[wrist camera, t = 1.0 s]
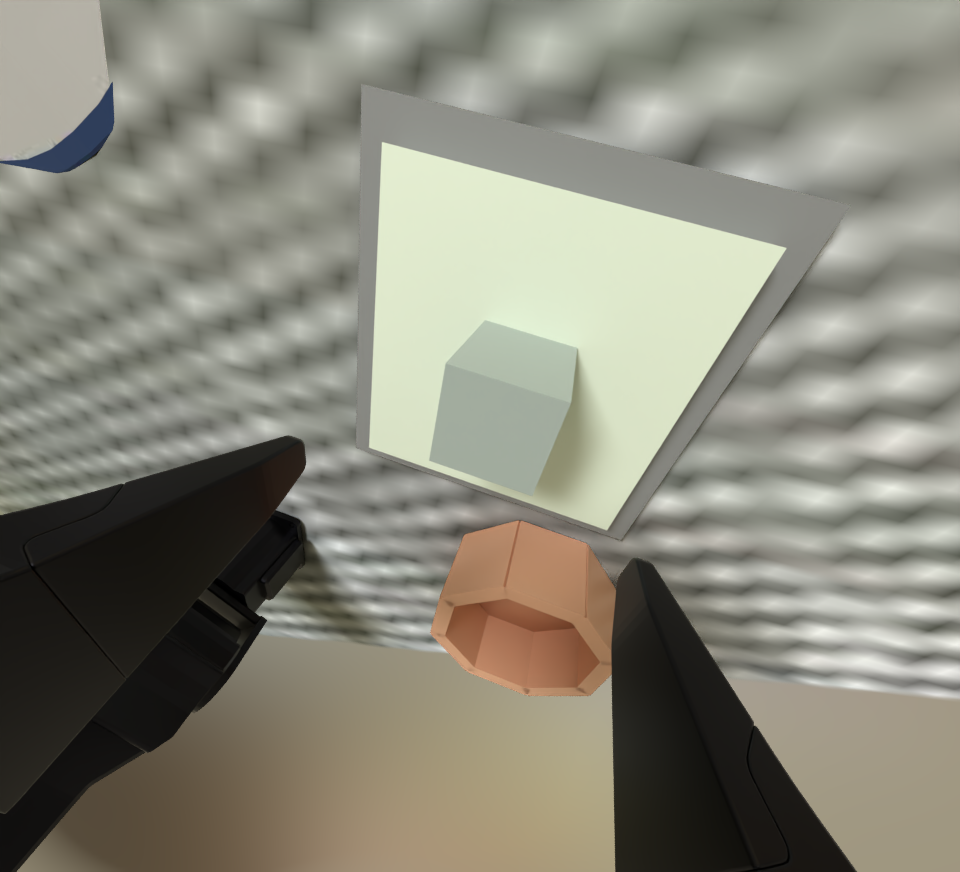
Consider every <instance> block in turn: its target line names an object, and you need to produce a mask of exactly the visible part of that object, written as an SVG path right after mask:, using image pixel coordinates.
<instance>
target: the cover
mask: <svg viewBox="0 0 960 872" xmlns="http://www.w3.org/2000/svg"><path fill="white" fill-rule="evenodd" d="M785 250H786V248H785V247H781V246H777V245H773V244H770V243H766V242H762V241H758V240H754V239H750V238H747V237H743V236H739V235H735V234H731V233H728V232H724V231H720V230H716V229H712V228H708V227H705V226H701V225H697V224H693V223H689V222H686V221H682V220H678V219H674V218H670V217H667V216H663V215H659V214H655V213H651V212H647V211H644V210H640V209H636V208H632V207H628V206H625V205H621V204H617V203H613V202H609V201H605V200H602V199H598V198H594V197H590V196H586V195H583V194H579V193H575V192H571V191H567V190H563V189H560V188H556V187H552V186H548V185H544V184H541V183H537V182H533V181H529V180H525V179H522V178H518V177H514V176H510V175H506V174H502V173H499V172H495V171H491V170H487V169H483V168H480V167H476V166H472V165H468V164H464V163H460V162H457V161H453V160H449V159H445V158H441V157H438V156H434V155H430V154H426V153H422V152H419V151H415V150H411V149H407V148H403V147H399V146H396V145H392V144H388V143H384V142H382V152H381V176H380V200H379V224H378V247H377V271H376V295H375V319H374V342H373V366H372V390H371V414H370V437H369V448H372V449H374V450H377V451H380V452H383V453H386V454H389V455H392V456H395V457H397V458H400V459H403V460H406V461H409V462H412V463H415V464H418V465H420V466H423V467H426V468H429V469H432V470H435V471H438V472H441V473H443V474H446V475H449V476H452V477H455V478H458V479H461V480H464V481H466V482H469V483H472V484H475V485H478V486H481V487H484V488H487V489H489V490H492V491H495V492H498V493H501V494H504V495H507V496H510V497H512V498H515V499H518V500H521V501H524V502H527V503H530V504H533V505H535V506H538V507H541V508H544V509H547V510H550V511H553V512H556V513H558V514H561V515H564V516H567V517H570V518H573V519H576V520H579V521H581V522H584V523H587V524H590V525H593V526H596V527H599V528H601V529H604V530H608V528H609V526H610V525H611V523H612V522H613V520H614V519H615V517H616V515H617V514H618V512H619V511H620V509H621V508H622V506H623V504H624V503H625V501H626V500H627V498H628V497H629V495H630V493H631V492H632V490H633V489H634V487H635V486H636V484H637V482H638V481H639V479H640V478H641V476H642V475H643V473H644V471H645V470H646V468H647V467H648V465H649V464H650V462H651V460H652V459H653V457H654V456H655V454H656V453H657V451H658V449H659V448H660V446H661V445H662V443H663V442H664V440H665V438H666V437H667V435H668V434H669V432H670V431H671V429H672V427H673V426H674V424H675V423H676V421H677V420H678V418H679V416H680V415H681V413H682V412H683V410H684V409H685V407H686V405H687V404H688V402H689V401H690V399H691V398H692V396H693V394H694V393H695V391H696V390H697V388H698V387H699V385H700V383H701V382H702V380H703V379H704V377H705V376H706V374H707V372H708V371H709V369H710V368H711V366H712V365H713V363H714V361H715V360H716V358H717V357H718V355H719V354H720V352H721V350H722V349H723V347H724V346H725V344H726V343H727V341H728V339H729V338H730V336H731V335H732V333H733V332H734V330H735V328H736V327H737V325H738V324H739V322H740V321H741V319H742V317H743V316H744V314H745V313H746V311H747V310H748V308H749V306H750V305H751V303H752V302H753V300H754V299H755V297H756V295H757V294H758V292H759V291H760V289H761V288H762V286H763V284H764V283H765V281H766V280H767V278H768V277H769V275H770V273H771V272H772V270H773V269H774V267H775V266H776V264H777V262H778V261H779V259H780V258H781V256H782V255H783V253H784V252H785Z"/></svg>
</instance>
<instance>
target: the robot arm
mask: <svg viewBox="0 0 960 872" xmlns="http://www.w3.org/2000/svg"><path fill="white" fill-rule="evenodd" d="M305 466H306V456H305V445H304V442H303V441H302V440H301V439H298V438H295V437H292V436H284V437H280V438H277V439H273V440H270V441H267V442H263V443H260V444H256V445H253V446H249V447H246V448H242V449H239V450H236V451H232V452H229V453H225V454H222V455H218V456H215V457H212V458H208V459H205V460H201V461H198V462H194V463H191V464H188V465H184V466H181V467H177V468H174V469H170V470H167V471H163V472H160V473H157V474H153V475H150V476H146V477H143V478H139V479H136V480H132V481H129V482H126V483H125V484H118V485H115V486H112V487H108V488H105V489H101V490H98V491H94V492H91V493H87V494H83V495H80V496H76V497H73V498H69V499H65V500H61V501H57V502H53V503H49V504H45V505H41V506H37V507H33V508H29V509H25V510H20V511H16V512H12V513H8V514H4V515H0V872H17V870H18V869H19V868H20V867H21V866H22V865H23V863H24V862H25V861H26V860H27V859H28V857H29V856H30V855H31V854H32V853H33V852H34V851H35V849H36V848H37V847H38V846H39V845H40V843H41V842H42V841H43V840H44V839H45V838H46V837H47V835H48V834H49V833H50V832H51V831H52V829H53V828H54V827H55V826H56V825H57V824H58V823H59V821H60V820H61V819H62V818H63V817H64V815H65V814H66V813H67V812H68V811H69V810H70V809H71V807H72V806H73V805H74V804H75V803H76V802H77V800H78V799H79V798H80V797H81V796H82V795H83V794H84V793H85V791H86V790H87V789H88V788H89V787H90V786H91V785H93V784H94V783H96V782H98V781H99V780H101V779H103V778H104V777H106V776H108V775H109V774H111V773H112V772H114V771H116V770H117V769H119V768H121V767H122V766H124V765H125V764H127V763H129V762H130V761H132V760H133V759H135V758H137V757H139V756H140V755H142V754H144V753H145V752H147V753H148V752H151V751H152V750H154V749H156V748H157V747H159V746H160V745H161V744H163V743H164V742H166V741H167V740H169V739H170V738H172V737H173V736H174V734H175V733H176V732H177V730H178V729H179V728H180V726H181V725H182V723H183V722H184V721H185V719H186V718H187V717H188V716H189V715H190V713H191V712H192V713H195V712H197V711H198V710H200V709H201V708H202V707H204V706H205V705H206V704H207V703H208V702H209V701H210V700H211V699H212V698H213V697H214V696H215V695H216V694H217V692H218V691H219V690H220V689H221V688H222V687H223V685H224V684H225V683H226V682H227V680H228V679H229V678H230V676H231V675H232V674H233V672H234V671H235V669H236V667H237V666H238V665H239V663H240V661H241V660H242V658H243V657H244V655H245V654H246V652H247V651H248V649H249V648H250V646H251V645H252V643H253V641H254V640H255V638H256V637H257V635H258V634H259V632H260V631H261V629H262V628H263V626H264V625H265V623H266V621H267V620H266V619H265V618H264V617H262V616H259V615H257V614H256V613H255V612H256V610H257V609H258V608H259V607H260V605H261V604H262V603H263V602H264V601H265V599H267V600H271V599H273V598H274V597H275V596H276V595H277V593H278V592H279V591H280V590H281V588H282V587H283V586H284V585H285V583H286V582H287V581H288V580H289V578H290V577H291V576H292V575H293V573H294V572H295V571H296V570H297V569H301V568H302V567H303V566H304V565H305V560H304V551H303V543H302V534H301V526H300V522H299V521H298V520H297V519H295V518H293V517H290V516H287V515H285V514H282V513H279V512H277V511H275V510H276V509H277V507H278V506H279V505H280V503H281V502H282V500H283V499H284V498H285V496H286V495H287V493H288V492H289V491H290V489H291V488H292V486H293V485H294V484H295V482H296V481H297V479H298V478H299V477H300V475H301V474H302V473H303V471H304V469H305ZM611 667H612V719H613V769H614V770H613V772H614V823H615V872H857V871H856V870H855V868H854V867H853V866H852V864H851V863H850V862H849V860H848V859H847V857H846V856H845V854H844V853H843V852H842V850H841V849H840V848H839V846H838V845H837V843H836V842H835V841H834V839H833V838H832V836H831V835H830V834H829V832H828V831H827V830H826V828H825V827H824V825H823V824H822V823H821V821H820V820H819V818H818V817H817V815H816V814H815V813H814V811H813V810H812V808H811V807H810V806H809V804H808V803H807V801H806V800H805V798H804V797H803V795H802V794H801V793H800V791H799V790H798V788H797V787H796V786H795V784H794V783H793V781H792V780H791V778H790V777H789V775H788V773H787V772H786V771H785V769H784V768H783V766H782V764H781V763H780V761H779V760H778V758H777V757H776V755H775V754H774V752H773V751H772V749H771V748H770V746H769V745H768V743H767V742H766V740H765V738H764V737H763V735H762V734H761V732H760V731H759V729H758V728H757V727H756V726H754V722H753V720H752V718H751V717H750V715H749V714H748V712H747V711H746V709H745V708H744V706H743V704H742V703H741V701H740V700H739V698H738V697H737V695H736V693H735V692H734V690H733V689H732V687H731V686H730V684H729V683H728V681H727V679H726V678H725V676H724V675H723V673H722V672H721V670H720V668H719V667H718V665H717V664H716V662H715V661H714V659H713V658H712V656H711V654H710V653H709V651H708V650H707V648H706V647H705V645H704V644H703V642H702V640H701V639H700V637H699V636H698V634H697V633H696V631H695V630H694V628H693V626H692V625H691V623H690V622H689V620H688V619H687V617H686V615H685V614H684V612H683V611H682V609H681V608H680V606H679V605H678V603H677V601H676V600H675V598H674V597H673V595H672V594H671V592H670V591H669V589H668V587H667V586H666V584H665V583H664V581H663V580H662V578H661V576H660V575H659V573H658V572H657V570H656V569H655V567H654V566H653V564H651V563H650V562H648V561H645V560H642V559H639V558H633V559H632V560H631V561H630V562H629V564H628V565H627V566H626V568H625V569H624V570H623V572H622V573H621V574H620V576H619V578H618V581H617V587H616V598H615V608H614V619H613V629H612V642H611Z"/></svg>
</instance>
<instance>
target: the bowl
mask: <svg viewBox="0 0 960 872" xmlns="http://www.w3.org/2000/svg"><path fill="white" fill-rule="evenodd" d="M615 598H616V589H615V587H614V585H613V584H612V582H611V581H610V579H609V577H608V576H607V574H606V572H605V571H604V569H603V568H602V566H601V564H600V563H599V561H598V559H597V558H596V556H595V555H594V553H593V551H592V550H591V548H590V546H589V545H587V543H584V542H581V541H578V540H575V539H572V538H570V537H567V536H564V535H561V534H558V533H555V532H553V531H550V530H547V529H544V528H541V527H538V526H536V525H533V524H530V523H527V522H524V521H519V520H518V521H514V522H510V523H506V524H502V525H499V526H495V527H491V528H487V529H483V530H479V531H476V532H472V533H468V534H465V535H464V536H463V539H462V542H461V544H460V547H459V549H458V552H457V554H456V557H455V559H454V562H453V565H452V567H451V570H450V572H449V575H448V577H447V580H446V582H445V585H444V588H443V590H442V593H441V595H440V598H439V602H438V605H437V609H436V613H435V617H434V620H433V624H432V628H431V632H430V633H431V635H432V636H433V637H434V638H435V639H436V640H437V641H438V642H439V643H440V644H441V645H442V646H443V647H444V649H445V650H446V651H447V652H448V653H449V654H450V655H451V656H452V657H453V658H454V659H455V660H456V661H457V662H458V663H459V664H460V665H461V666H462V667H463V669H464V670H465V671H467V672H469V673H472V674H474V675H476V676H479V677H482V678H484V679H487V680H489V681H491V682H494V683H496V684H499V685H501V686H504V687H506V688H509V689H511V690H514V691H516V692H519V693H522V694H524V695H528V696H589V695H591V694H592V693H593V692H594V691H595V690H596V689H597V688H598V687H599V686H600V685H601V684H602V683H603V682H604V681H605V680H606V679H607V678H608V677H609V676H610V675H611V674H612V667H611V642H612V629H613V619H614V608H615Z"/></svg>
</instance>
